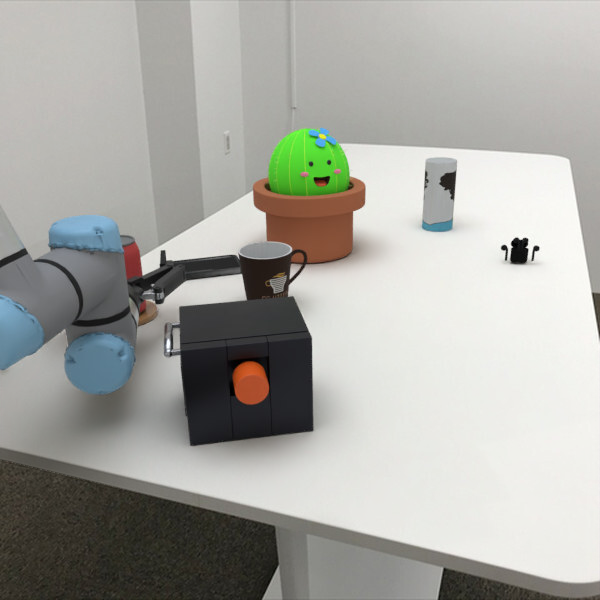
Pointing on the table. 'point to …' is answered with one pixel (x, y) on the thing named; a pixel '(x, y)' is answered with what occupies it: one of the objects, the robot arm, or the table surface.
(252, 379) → the button
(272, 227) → the potted cactus
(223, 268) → the phone
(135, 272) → the beer can
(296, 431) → the black drawer box
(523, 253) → the wireless earbuds
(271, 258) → the coffee mug
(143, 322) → the wooden coaster
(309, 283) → the table surface
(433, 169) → the white patterned cylinder
